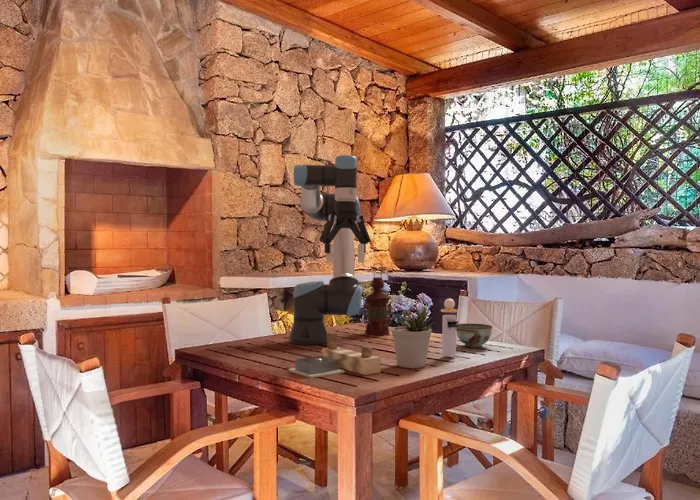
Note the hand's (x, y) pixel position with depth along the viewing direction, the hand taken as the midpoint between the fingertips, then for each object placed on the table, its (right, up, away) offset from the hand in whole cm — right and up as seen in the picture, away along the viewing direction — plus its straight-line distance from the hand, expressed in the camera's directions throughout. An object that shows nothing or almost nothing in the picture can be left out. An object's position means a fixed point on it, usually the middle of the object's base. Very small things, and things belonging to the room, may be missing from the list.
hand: (345, 263), depth 208 cm
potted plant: (+21, -32, -17) cm, 42 cm away
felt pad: (-8, -32, -26) cm, 42 cm away
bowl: (+48, -32, +19) cm, 60 cm away
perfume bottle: (+35, -32, -3) cm, 48 cm away
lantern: (+13, -31, +49) cm, 59 cm away
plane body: (+2, -32, -20) cm, 38 cm away
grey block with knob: (-8, -31, -26) cm, 42 cm away
